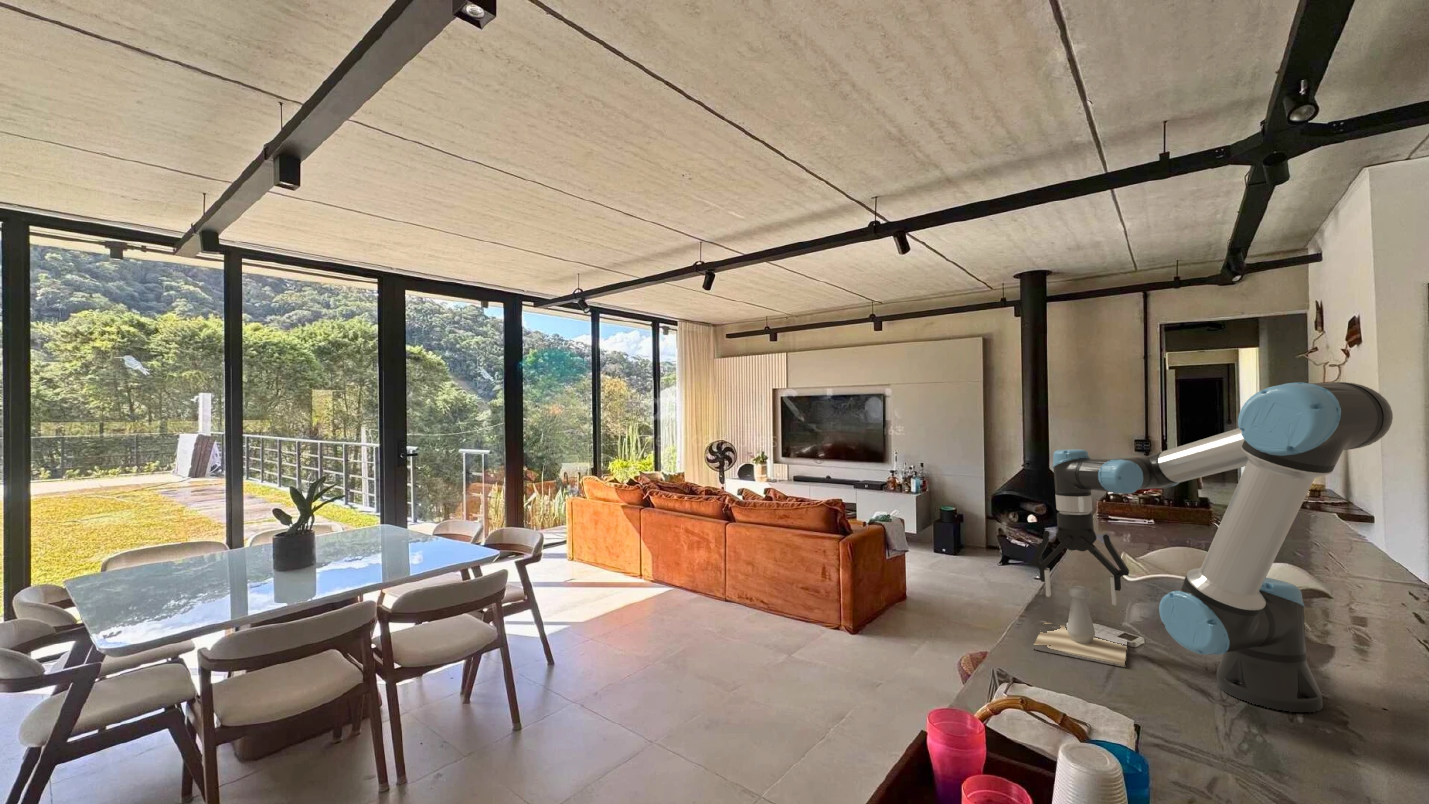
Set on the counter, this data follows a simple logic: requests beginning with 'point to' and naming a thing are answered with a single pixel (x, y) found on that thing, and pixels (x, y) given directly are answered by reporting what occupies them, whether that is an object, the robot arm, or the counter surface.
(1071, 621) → the salt shaker
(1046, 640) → the open book
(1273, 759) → the counter surface
